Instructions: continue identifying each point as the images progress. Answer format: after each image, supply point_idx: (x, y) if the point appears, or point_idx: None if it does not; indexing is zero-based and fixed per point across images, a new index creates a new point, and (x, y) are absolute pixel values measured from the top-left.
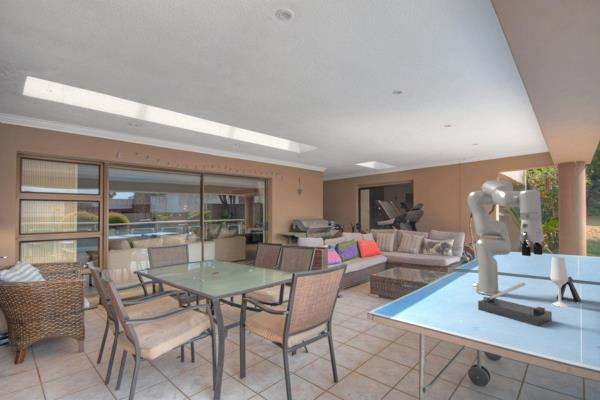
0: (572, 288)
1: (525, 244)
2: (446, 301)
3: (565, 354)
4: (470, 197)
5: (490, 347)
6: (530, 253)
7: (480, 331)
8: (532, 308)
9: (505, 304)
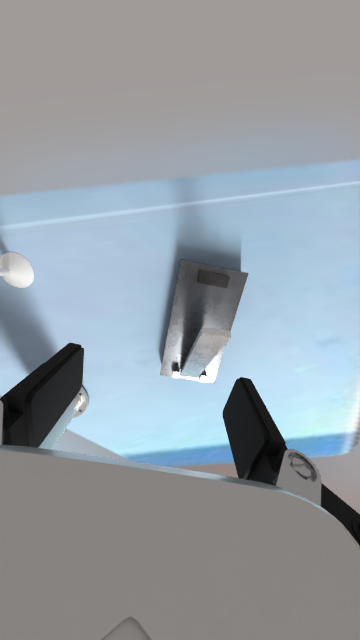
0: None
1: (336, 496)
2: (201, 419)
3: None
4: None
5: None
6: (251, 388)
7: (339, 332)
8: (185, 296)
9: None
